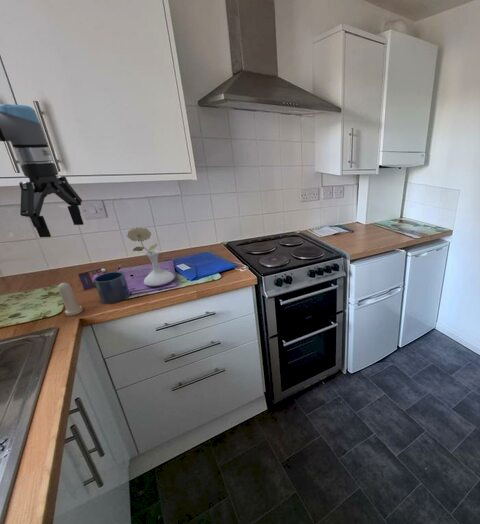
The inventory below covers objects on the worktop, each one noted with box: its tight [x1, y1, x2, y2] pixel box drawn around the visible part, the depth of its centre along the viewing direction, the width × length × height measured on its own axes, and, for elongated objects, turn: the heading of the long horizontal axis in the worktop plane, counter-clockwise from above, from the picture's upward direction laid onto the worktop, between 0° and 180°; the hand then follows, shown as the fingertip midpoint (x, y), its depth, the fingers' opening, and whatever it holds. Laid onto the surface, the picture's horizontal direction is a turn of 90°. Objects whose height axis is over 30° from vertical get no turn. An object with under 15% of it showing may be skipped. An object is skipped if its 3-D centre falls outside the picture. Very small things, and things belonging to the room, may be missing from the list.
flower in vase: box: [126, 226, 175, 287], centre depth 124 cm, size 13×11×25 cm
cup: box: [93, 271, 131, 304], centre depth 115 cm, size 9×9×9 cm
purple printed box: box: [77, 267, 108, 290], centre depth 126 cm, size 7×5×9 cm
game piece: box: [57, 282, 83, 317], centre depth 105 cm, size 5×5×12 cm
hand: (63, 230), depth 98 cm, fingers open, 13 cm apart
